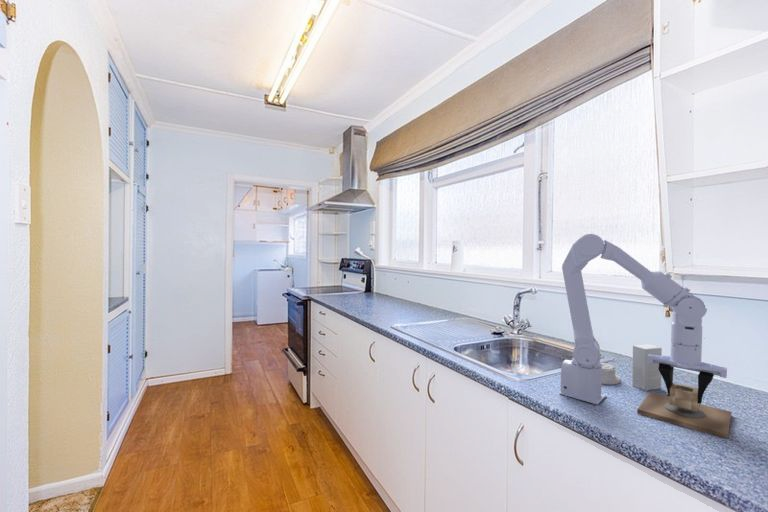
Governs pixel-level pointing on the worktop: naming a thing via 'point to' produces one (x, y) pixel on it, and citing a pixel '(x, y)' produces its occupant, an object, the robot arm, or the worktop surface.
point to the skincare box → (646, 367)
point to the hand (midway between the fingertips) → (684, 398)
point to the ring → (684, 396)
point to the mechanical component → (609, 374)
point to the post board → (687, 415)
